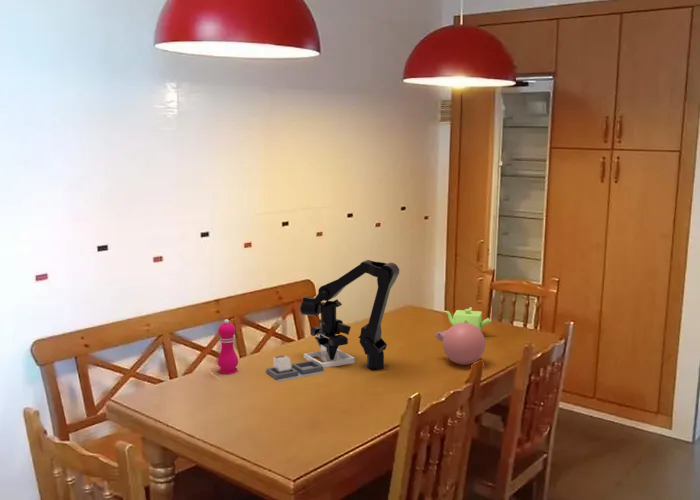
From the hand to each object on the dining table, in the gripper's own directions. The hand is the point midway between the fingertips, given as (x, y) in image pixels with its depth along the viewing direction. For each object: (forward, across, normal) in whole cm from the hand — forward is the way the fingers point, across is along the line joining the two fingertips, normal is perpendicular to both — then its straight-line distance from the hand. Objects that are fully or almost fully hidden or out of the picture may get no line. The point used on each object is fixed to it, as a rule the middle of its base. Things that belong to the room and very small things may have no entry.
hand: (329, 358), depth 275 cm
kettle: (+2, +2, -67) cm, 67 cm away
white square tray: (+2, 0, 0) cm, 2 cm away
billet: (+1, -6, +22) cm, 23 cm away
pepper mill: (+2, +7, +37) cm, 38 cm away
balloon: (+2, -25, -41) cm, 48 cm away
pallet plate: (+2, -6, +17) cm, 18 cm away
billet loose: (+1, 0, 0) cm, 1 cm away
